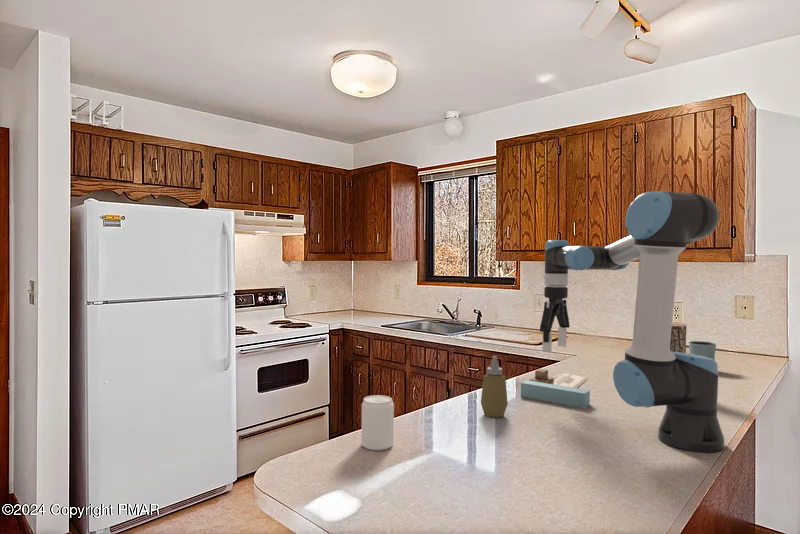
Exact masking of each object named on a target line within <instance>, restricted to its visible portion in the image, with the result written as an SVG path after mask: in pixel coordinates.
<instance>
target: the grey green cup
mask: <svg viewBox="0 0 800 534" xmlns="http://www.w3.org/2000/svg"><path fill="white" fill-rule="evenodd" d="M716 347H717V344H716V343H715V342H710V341H704V340H703V341H702V340H701V341H700V340H699V341H698V340H694V341H689V342H688V350H689V354H694V355H699V356H704V357H708V358H711V359H713V360H715V359H716V357H715V355H716V349H717V348H716ZM715 361H716V360H715Z"/></svg>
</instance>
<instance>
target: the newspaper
mask: <svg viewBox="0 0 800 534" xmlns="http://www.w3.org/2000/svg"><path fill="white" fill-rule="evenodd" d="M552 378H554V385H559V386H565V387H571V388H578V389H580V387H581V386H582V385H583V384H584V383H585V382H586V381H587V380H588V378H586V377H583V376H580V375H575V374H572V373H571V374H570V373H560V374H555V375H554V376H552Z"/></svg>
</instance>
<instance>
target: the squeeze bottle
mask: <svg viewBox="0 0 800 534" xmlns="http://www.w3.org/2000/svg"><path fill="white" fill-rule="evenodd" d="M506 381H507V379H506V376H505V375H503V368H502V367H500V365H499V360H498V355H493V356H492V358H491V362H490V366H487V368H486V374H484V375H483V379H482V390H481V398H480V405H481V408H482V411H483V415H484V416H486V417H489V418H502V417H504V416H505V413H506V410H507V407H508V393H507V382H506Z"/></svg>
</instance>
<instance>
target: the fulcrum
mask: <svg viewBox="0 0 800 534" xmlns="http://www.w3.org/2000/svg"><path fill="white" fill-rule="evenodd" d="M534 373H535V375H534V376H533V377H532V378H529V381H535V382H541V383H547V384H553V385H554V378H553V376H552V377H551V376H549V370H548V369H545V368H544V369H543V368H538V369H536V370H535V372H534Z"/></svg>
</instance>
